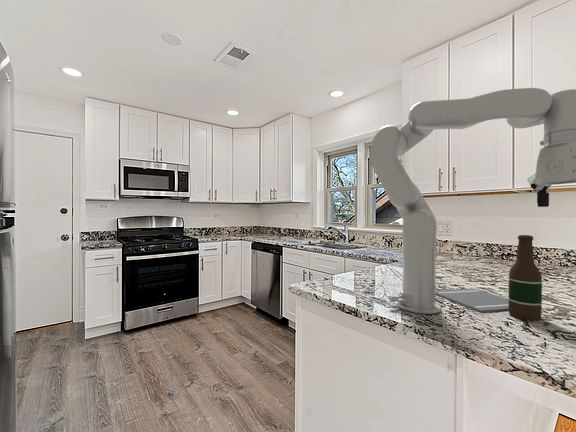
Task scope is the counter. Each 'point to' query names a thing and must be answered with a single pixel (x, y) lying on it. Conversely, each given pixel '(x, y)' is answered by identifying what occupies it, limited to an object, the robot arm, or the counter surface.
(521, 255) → the beer bottle
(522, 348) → the counter surface
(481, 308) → the mat
